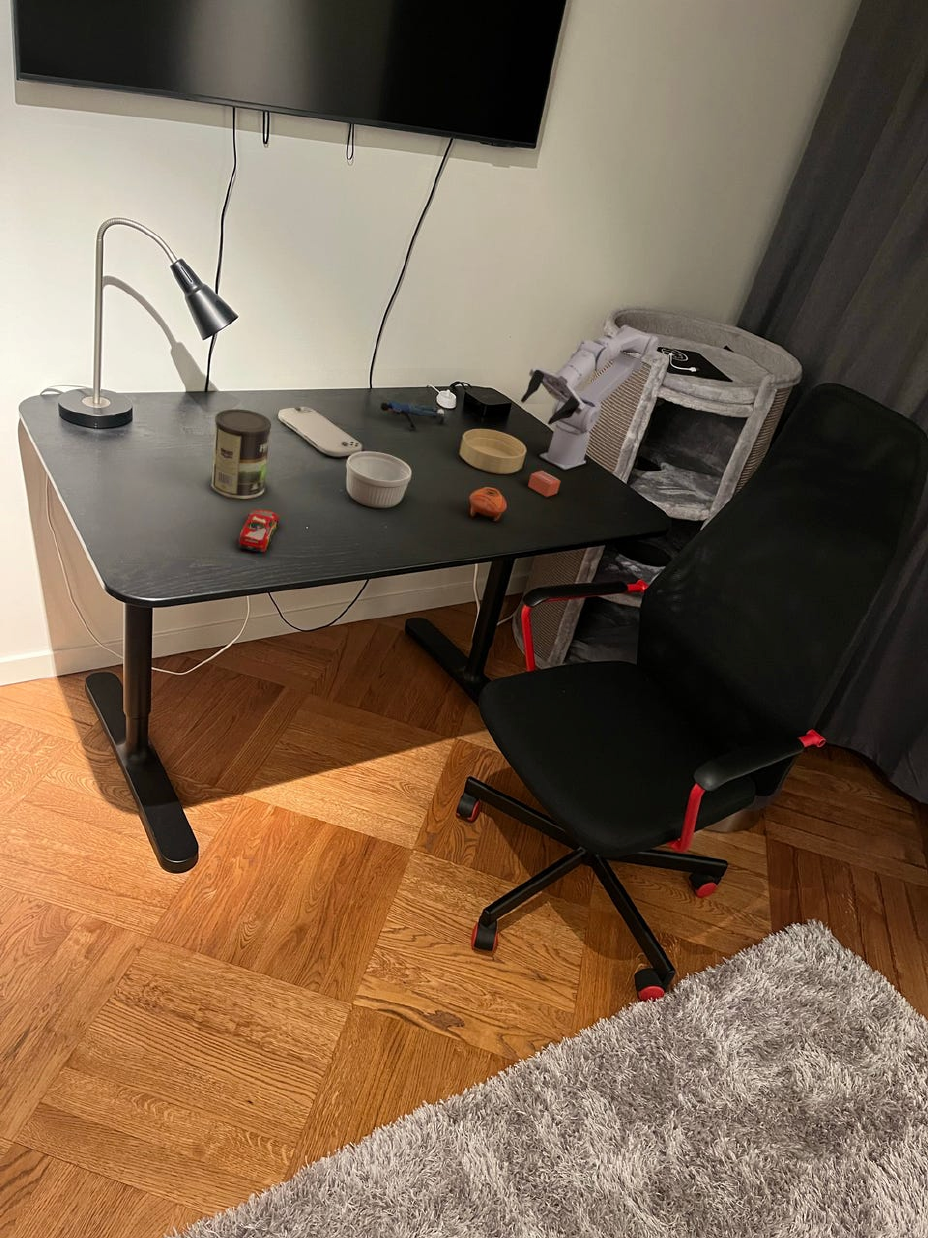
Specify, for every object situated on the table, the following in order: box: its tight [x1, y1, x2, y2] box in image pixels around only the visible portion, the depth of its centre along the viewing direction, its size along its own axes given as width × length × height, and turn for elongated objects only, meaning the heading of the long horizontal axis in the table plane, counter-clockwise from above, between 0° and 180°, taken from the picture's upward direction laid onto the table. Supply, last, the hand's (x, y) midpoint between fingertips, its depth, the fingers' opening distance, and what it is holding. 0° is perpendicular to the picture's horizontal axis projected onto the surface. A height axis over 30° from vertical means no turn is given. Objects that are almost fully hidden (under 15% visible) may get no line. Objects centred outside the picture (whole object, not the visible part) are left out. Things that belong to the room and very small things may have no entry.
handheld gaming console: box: [277, 406, 364, 459], centre depth 205 cm, size 23×3×10 cm
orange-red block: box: [527, 470, 561, 498], centre depth 207 cm, size 4×6×4 cm
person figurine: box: [380, 400, 446, 431], centre depth 224 cm, size 11×4×18 cm
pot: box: [469, 486, 508, 522], centre depth 190 cm, size 8×8×7 cm
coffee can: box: [210, 408, 272, 500], centre depth 175 cm, size 10×10×14 cm
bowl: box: [459, 428, 527, 475], centre depth 214 cm, size 15×15×4 cm
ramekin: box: [345, 450, 412, 509], centre depth 186 cm, size 13×13×7 cm
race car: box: [238, 509, 280, 552], centre depth 165 cm, size 13×5×4 cm, turn 177°
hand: (536, 410), depth 199 cm, fingers open, 7 cm apart
